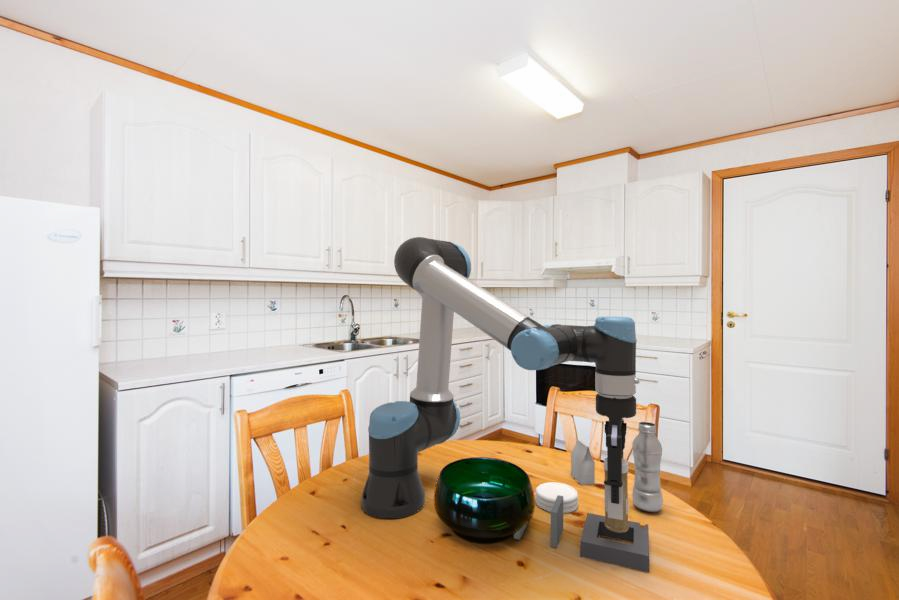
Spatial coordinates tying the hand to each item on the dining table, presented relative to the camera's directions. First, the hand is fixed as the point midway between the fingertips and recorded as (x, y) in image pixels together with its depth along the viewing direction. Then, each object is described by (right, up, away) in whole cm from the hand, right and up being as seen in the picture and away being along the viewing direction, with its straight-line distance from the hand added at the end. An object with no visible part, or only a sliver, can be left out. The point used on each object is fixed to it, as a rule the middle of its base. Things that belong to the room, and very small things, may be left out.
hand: (616, 511), depth 85 cm
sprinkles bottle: (0, -3, 0) cm, 3 cm away
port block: (0, -7, 0) cm, 7 cm away
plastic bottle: (+13, -7, +16) cm, 22 cm away
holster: (-14, -7, +5) cm, 17 cm away
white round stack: (-7, -8, +19) cm, 21 cm away
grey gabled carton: (+3, -7, +32) cm, 33 cm away
